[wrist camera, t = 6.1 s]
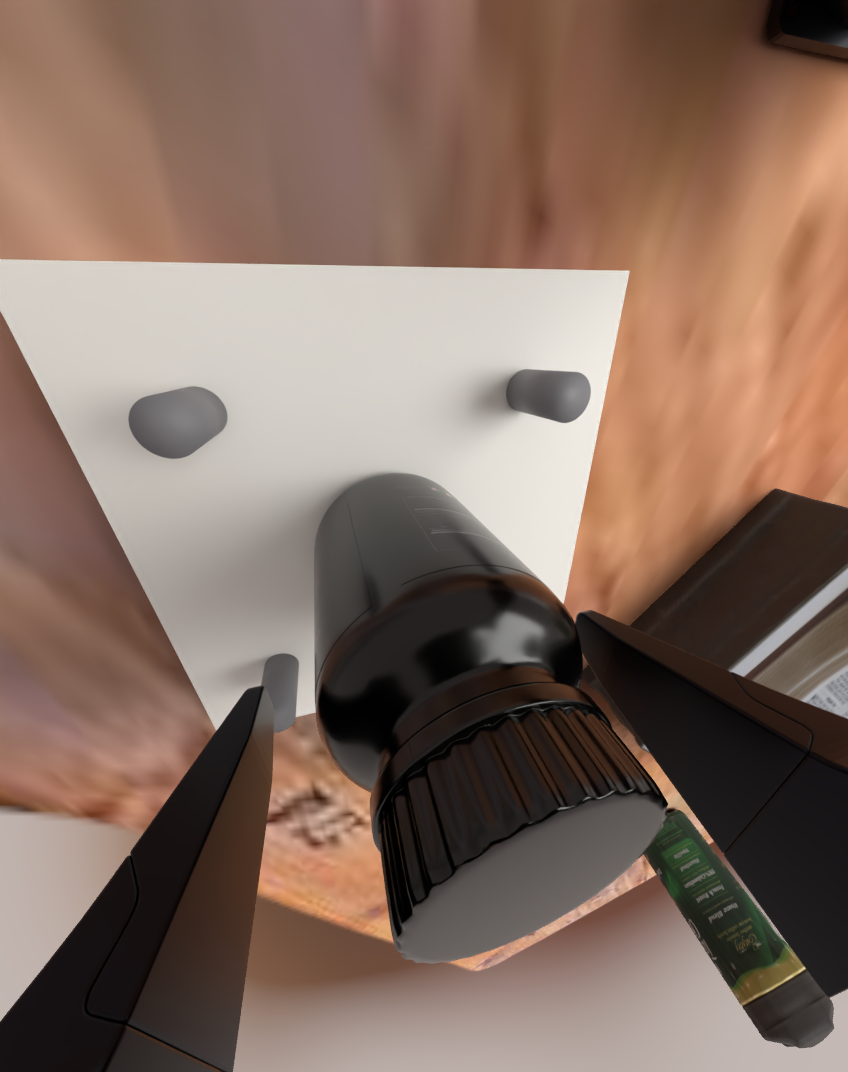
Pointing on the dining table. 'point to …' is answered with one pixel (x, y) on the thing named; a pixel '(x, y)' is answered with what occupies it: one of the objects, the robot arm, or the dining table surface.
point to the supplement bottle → (465, 724)
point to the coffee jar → (739, 938)
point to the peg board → (309, 424)
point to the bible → (766, 603)
